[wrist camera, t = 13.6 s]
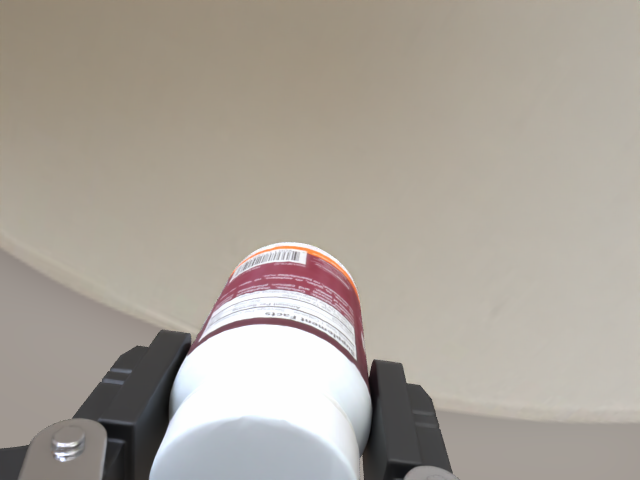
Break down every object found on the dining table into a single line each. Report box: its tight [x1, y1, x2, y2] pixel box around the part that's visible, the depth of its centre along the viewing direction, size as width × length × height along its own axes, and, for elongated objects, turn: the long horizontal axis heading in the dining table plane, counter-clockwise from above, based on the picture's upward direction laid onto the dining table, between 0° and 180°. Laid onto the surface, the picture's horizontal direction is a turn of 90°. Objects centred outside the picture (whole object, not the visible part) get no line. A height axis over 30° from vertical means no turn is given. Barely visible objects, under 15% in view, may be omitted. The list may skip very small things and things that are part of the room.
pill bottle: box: [149, 242, 372, 480], centre depth 13 cm, size 5×5×8 cm
